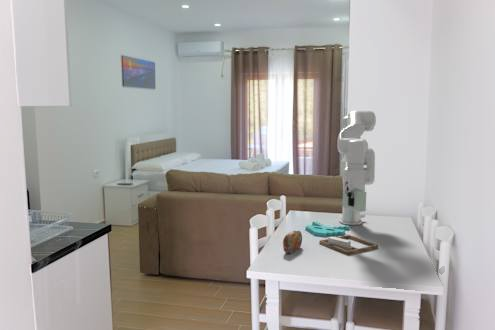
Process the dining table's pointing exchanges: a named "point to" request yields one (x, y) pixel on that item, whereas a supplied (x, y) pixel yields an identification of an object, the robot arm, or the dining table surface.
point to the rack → (354, 250)
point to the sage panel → (356, 201)
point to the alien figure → (325, 229)
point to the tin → (292, 241)
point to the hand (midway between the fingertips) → (353, 205)
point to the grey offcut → (339, 241)
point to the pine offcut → (343, 247)
